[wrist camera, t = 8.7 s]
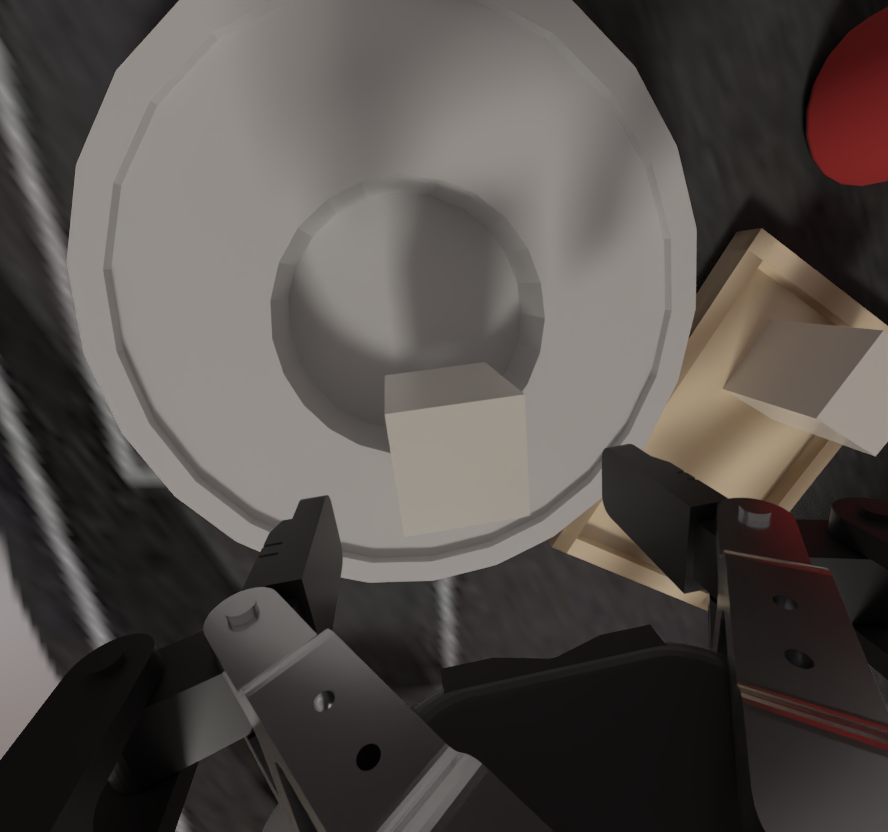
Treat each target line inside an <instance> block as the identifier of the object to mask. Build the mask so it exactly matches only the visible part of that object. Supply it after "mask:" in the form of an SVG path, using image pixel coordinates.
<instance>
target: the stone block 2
mask: <svg viewBox="0 0 888 832" xmlns="http://www.w3.org/2000/svg"><path fill="white" fill-rule="evenodd" d="M723 390H725V391H727V392H728V393H730V394H732V395H733V396H735V397H736V398H738V399H740V400H741V401H743V402H745V403H746V404H748V405H750V406H751V407H753V408H755V409H756V410H758V411H759V412H761V413H763V414H764V415H766V416H768V417H769V418H771V419H773V420H774V421H777V422H780V423H783V424H786V425H789V426H791V427H794V428H797V429H800V430H803V431H805V432H808V433H811V434H814V435H817V436H819V437H822V438H825V439H828V440H831V441H833V442H836V443H839V444H842V445H845V446H847V447H850V448H853V449H856V450H859V451H861V452H864V453H867V454H870V455H873V456H876V455H877V454H878V453H879V452H880V450H881V449H882V448H883V447H884V445H885V444H886V443H887V442H888V334H887V333H886V332H885V331H884V330H873V329H863V328H853V327H843V326H832V325H822V324H812V323H802V322H791V321H781V320H770V322H769V323H768V324H767V326H766V327H765V329H764V330H763V332H762V333H761V334H760V336H759V337H758V339H757V340H756V342H755V343H754V344H753V346H752V347H751V349H750V350H749V352H748V353H747V355H746V356H745V357H744V359H743V360H742V362H741V363H740V365H739V366H738V367H737V369H736V370H735V372H734V373H733V375H732V376H731V377H730V379H729V380H728V382H727V383H726V385H725V386H724V388H723Z"/></svg>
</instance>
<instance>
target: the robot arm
mask: <svg viewBox="0 0 888 832" xmlns="http://www.w3.org/2000/svg"><path fill="white" fill-rule="evenodd" d="M602 500H603V504H604V507H605V510H606V512H607V514H608V515H609V516H610V518H611V519H612V520H613V521H614V522H615V523H616V524H617V525H618V526H619V527H620V528H621V529H622V530H623V531H624V532H625V533H626V534H627V535H628V536H629V537H630V538H631V539H632V540H633V542H634V543H635V544H636V545H637V546H638V547H639V548H640V549H641V550H642V551H643V552H644V553H645V554H646V555H647V556H648V557H649V558H650V559H651V560H652V561H653V562H654V563H655V564H656V565H657V566H658V567H659V568H660V569H661V571H662V572H663V573H664V574H665V575H666V576H667V577H668V578H669V579H670V580H671V581H672V582H673V583H674V584H675V585H676V586H677V587H678V588H679V589H680V590H681V591H682V592H683V593H684V594H686V593H691V592H696V591H701V590H706V591H707V592H709V596H708V639H709V650H707V649H703V648H700V647H697V646H692V645H687V644H682V643H674V642H663V641H662V639H661V638H660V637H659V636H658V634H657V633H656V632H655V630H654V629H653V628H652V627H651V625H646V626H641V627H636V628H631V629H627V630H622V631H617V632H613V633H608V634H603V635H600V636H598V637H596V638H594V639H592V640H590V641H588V642H586V643H584V644H582V645H580V646H578V647H576V648H574V649H572V650H570V651H568V652H566V653H564V654H562V655H560V656H558V657H555V658H551V659H533V658H490V659H485V660H481V661H476V662H471V663H467V664H462V665H457V666H452V667H448V668H443V669H441V676H442V683H443V688H442V689H440V690H438V691H437V692H435V693H433V694H431V695H430V696H428V697H427V698H425V699H424V700H422V701H421V702H420V703H418V704H417V705H416V706H415V707H413V708H412V709H411V708H410V707H409V706H408V705H407V704H406V703H405V702H404V701H403V700H402V699H401V698H400V697H399V696H398V695H397V694H396V693H395V692H394V691H393V690H392V689H391V688H390V687H389V686H388V685H387V684H386V683H385V682H384V681H382V680H381V679H380V678H379V677H378V676H377V675H376V674H375V673H374V672H373V671H372V670H371V669H370V668H369V667H368V666H367V665H366V664H365V663H364V662H363V661H362V660H361V659H360V658H359V657H358V656H357V655H356V654H355V653H354V652H353V651H352V650H351V649H350V648H349V647H348V646H347V645H346V644H345V643H344V642H343V641H342V640H341V639H340V638H339V637H338V636H337V635H336V634H335V633H334V632H333V631H332V628H333V621H334V615H335V609H336V603H337V596H338V590H339V584H340V578H341V571H342V564H343V556H342V546H341V541H340V537H339V533H338V528H337V524H336V520H335V516H334V511H333V507H332V503H331V500H330V497H329V496H328V495H324V496H318V497H312V498H307V499H301V500H300V501H299V503H298V506H297V508H296V511H295V513H294V516H293V518H292V519H288V520H282V521H281V522H280V523H279V524H278V525H277V526H276V527H275V528H274V529H273V530H272V531H271V532H270V533H269V535H268V537H267V539H266V541H265V543H264V548H262V549H261V552H260V554H259V558H258V559H257V560H256V562H255V564H254V566H253V568H252V571H251V573H250V575H249V577H248V579H247V581H246V583H245V585H244V587H243V589H242V591H241V592H239V593H236V594H234V595H232V596H231V597H229V598H227V599H226V600H224V601H223V602H221V603H220V604H219V605H218V606H217V607H216V608H214V609H213V611H212V612H211V613H210V614H209V616H208V617H207V619H206V621H205V623H204V626H203V631H201V632H199V633H197V634H195V635H193V636H190V637H188V638H186V639H183V640H181V641H178V642H176V643H173V644H171V645H169V646H166V647H164V648H161V649H159V650H158V649H157V647H156V644H155V642H154V640H153V638H152V637H151V636H149V635H147V634H131V635H127V636H123V637H120V638H117V639H115V640H112V641H110V642H108V643H106V644H104V645H102V646H101V647H99V648H97V649H95V650H94V651H92V652H91V653H89V654H88V655H87V656H85V657H84V658H83V659H81V660H80V661H79V662H78V663H77V664H75V665H74V666H73V667H72V668H71V669H70V670H69V672H68V673H67V674H66V675H65V676H64V678H63V679H62V680H61V682H60V683H59V684H58V686H57V687H56V688H55V689H54V691H53V692H52V693H51V695H50V696H49V697H48V699H47V700H46V701H45V703H44V704H43V705H42V706H41V708H40V709H39V710H38V712H37V713H36V714H35V716H34V717H33V718H32V719H31V721H30V722H29V723H28V725H27V726H26V727H25V729H24V730H23V731H22V733H21V734H20V735H19V737H18V738H17V739H16V741H15V742H14V743H13V744H12V746H11V747H10V748H9V750H8V751H7V752H6V754H5V755H4V756H3V757H2V759H1V760H0V832H175V829H176V826H177V823H178V820H179V817H180V815H181V812H182V809H183V806H184V803H185V800H186V797H187V794H188V791H189V788H190V785H191V782H192V779H193V777H194V774H195V771H196V768H197V765H198V762H199V760H201V759H203V758H205V757H207V756H209V755H211V754H213V753H215V752H217V751H218V750H220V749H222V748H224V747H226V746H228V745H230V744H232V743H234V742H236V741H238V740H240V739H241V738H243V737H245V740H246V742H247V744H248V746H249V747H250V749H251V751H252V753H253V755H254V757H255V759H256V761H257V763H258V764H259V766H260V768H261V770H262V772H263V774H264V776H265V778H266V780H267V782H268V783H269V785H270V787H271V789H272V791H273V793H274V795H275V797H276V799H277V800H278V802H279V804H280V806H281V808H282V810H283V812H284V814H285V816H286V818H287V820H288V823H289V825H290V827H291V829H292V832H888V711H887V708H886V706H885V703H884V701H883V699H882V696H881V694H880V691H879V689H878V686H877V684H876V681H875V679H874V676H873V674H872V672H871V669H870V667H869V665H871V666H872V667H873V668H874V669H875V670H877V671H878V672H879V673H880V674H881V675H883V676H884V677H885V678H886V679H887V680H888V502H883V501H879V500H873V499H866V498H844V499H839V500H837V501H835V502H834V503H833V504H832V508H831V513H830V518H829V520H795V518H794V516H793V515H792V514H791V513H790V512H788V511H787V510H786V509H784V508H782V507H780V506H778V505H776V504H773V503H770V502H767V501H763V500H759V499H753V498H730V499H728V498H727V497H725V496H724V495H722V494H720V493H719V492H717V491H716V490H714V489H712V488H711V487H709V486H708V485H706V484H704V483H703V482H701V481H700V480H698V479H697V480H695V477H693V476H692V475H690V474H688V473H687V472H686V473H684V471H683V470H682V469H680V468H679V467H677V466H675V465H674V464H672V463H671V462H668V461H665V460H662V459H659V458H656V457H653V456H650V455H649V454H647V453H646V452H644V451H642V450H641V449H639V448H638V447H636V446H635V445H633V444H625V445H619V446H613V447H608V448H605V449H604V450H603V453H602Z"/></svg>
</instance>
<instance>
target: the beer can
mask: <svg viewBox="0 0 888 832" xmlns="http://www.w3.org/2000/svg"><path fill="white" fill-rule="evenodd" d="M805 136H806V140H807V144H808V148H809V151H810V155H811V158H812V159H813V160H814V162H815V163H816V165H817V166H818V168H819V169H820V170H821V172H822V173H823V174H824V175H826V176H828V177H829V178H831V179H833V180H834V181H836V182H838V183H840V184H844V185H855V186H865V185H870V184H875V183H880V182H884V181H888V7H886V8H884V9H883V10H881V11H879V12H877V13H875V14H874V15H872V16H870V17H869V18H867V19H866V20H865V21H863V22H862V23H860V24H859V25H857V26H856V27H855V28H853V29H852V30H850V31H849V32H848V33H847V35H846V36H845V37H844V38H843V39H842V40H841V42H840V43H839V44H838V45H837V46H836V48H835V49H834V50H833V51H832V52H831V53H830V55H829V56H828V57H827V59H826V61H825V63H824V65H823V67H822V69H821V71H820V73H819V74H818V76H817V78H816V80H815V82H814V84H813V86H812V90H811V94H810V98H809V102H808V106H807V110H806V133H805Z"/></svg>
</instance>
